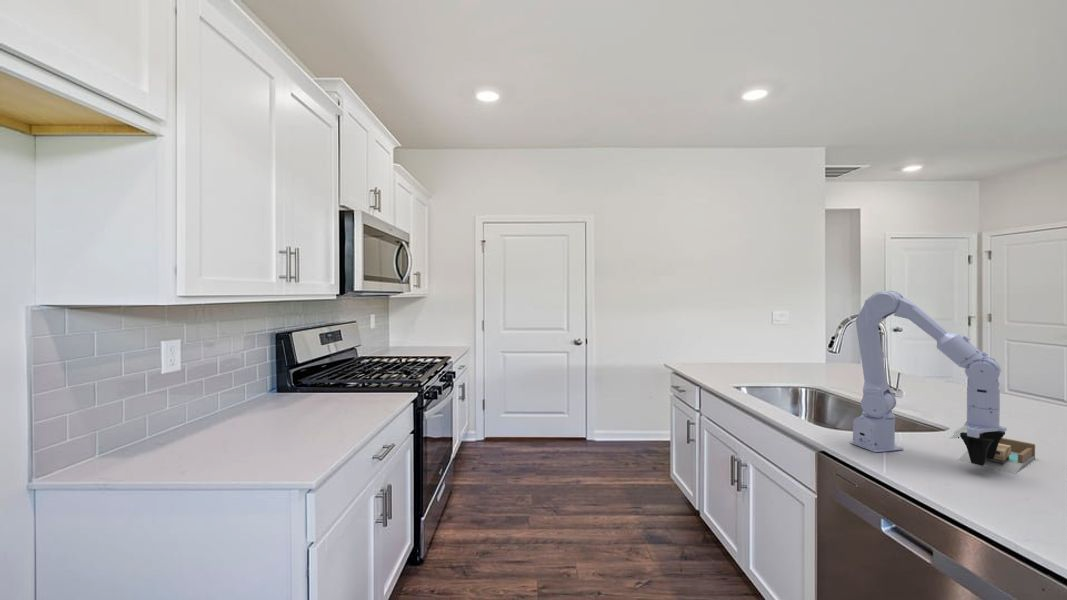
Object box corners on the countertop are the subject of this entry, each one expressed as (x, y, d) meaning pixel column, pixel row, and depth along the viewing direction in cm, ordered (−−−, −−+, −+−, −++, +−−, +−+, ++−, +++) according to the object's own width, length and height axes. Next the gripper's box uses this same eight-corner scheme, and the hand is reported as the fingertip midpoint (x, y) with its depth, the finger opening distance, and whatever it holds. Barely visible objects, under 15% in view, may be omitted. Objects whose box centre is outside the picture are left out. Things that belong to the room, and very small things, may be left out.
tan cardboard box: (1003, 465, 110) (1003, 452, 110) (974, 459, 115) (974, 446, 114) (1011, 458, 114) (1010, 445, 113) (983, 452, 118) (982, 440, 118)
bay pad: (1015, 462, 112) (1015, 462, 112) (974, 453, 118) (974, 453, 118) (1023, 456, 115) (1023, 456, 115) (982, 448, 122) (982, 447, 122)
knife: (966, 440, 129) (943, 433, 133) (965, 445, 129) (942, 438, 134) (993, 422, 144) (972, 417, 148) (992, 427, 144) (971, 421, 148)
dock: (1015, 477, 107) (1015, 458, 107) (957, 463, 116) (957, 445, 116) (1035, 461, 116) (1035, 444, 116) (980, 449, 125) (980, 433, 125)
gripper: (996, 414, 103) (995, 473, 103) (1015, 405, 110) (1014, 460, 110) (955, 408, 109) (955, 463, 109) (976, 400, 116) (975, 451, 116)
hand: (982, 461), depth 110 cm, fingers open, 7 cm apart
